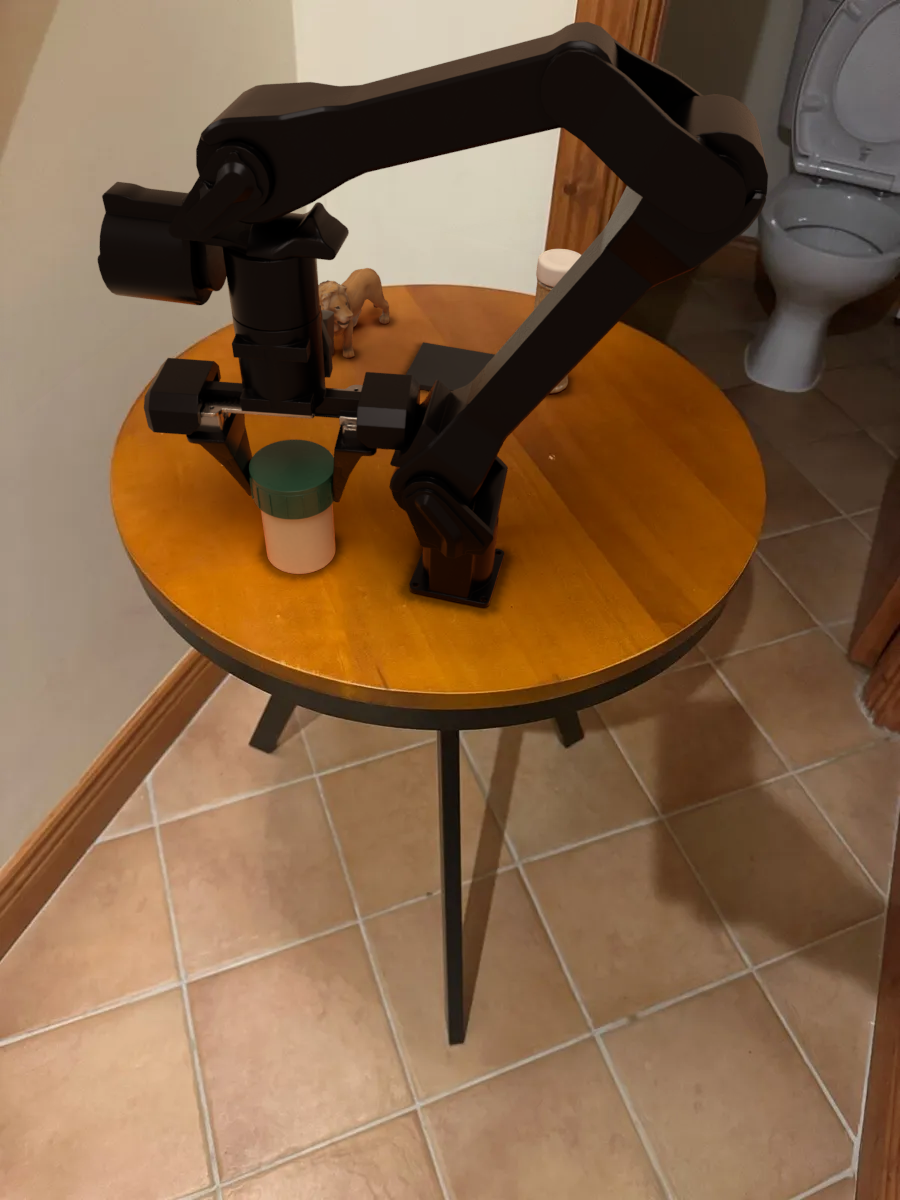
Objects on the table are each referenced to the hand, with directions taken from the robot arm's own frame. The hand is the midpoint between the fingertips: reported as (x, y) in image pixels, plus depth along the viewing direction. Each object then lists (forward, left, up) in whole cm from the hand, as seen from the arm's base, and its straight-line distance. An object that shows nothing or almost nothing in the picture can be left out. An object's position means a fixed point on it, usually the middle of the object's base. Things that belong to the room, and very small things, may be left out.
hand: (295, 495), depth 70 cm
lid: (0, 0, +3) cm, 3 cm away
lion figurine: (+32, +6, -6) cm, 34 cm away
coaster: (+30, -5, -6) cm, 31 cm away
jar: (0, 0, -6) cm, 6 cm away
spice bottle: (+31, -15, -6) cm, 35 cm away
